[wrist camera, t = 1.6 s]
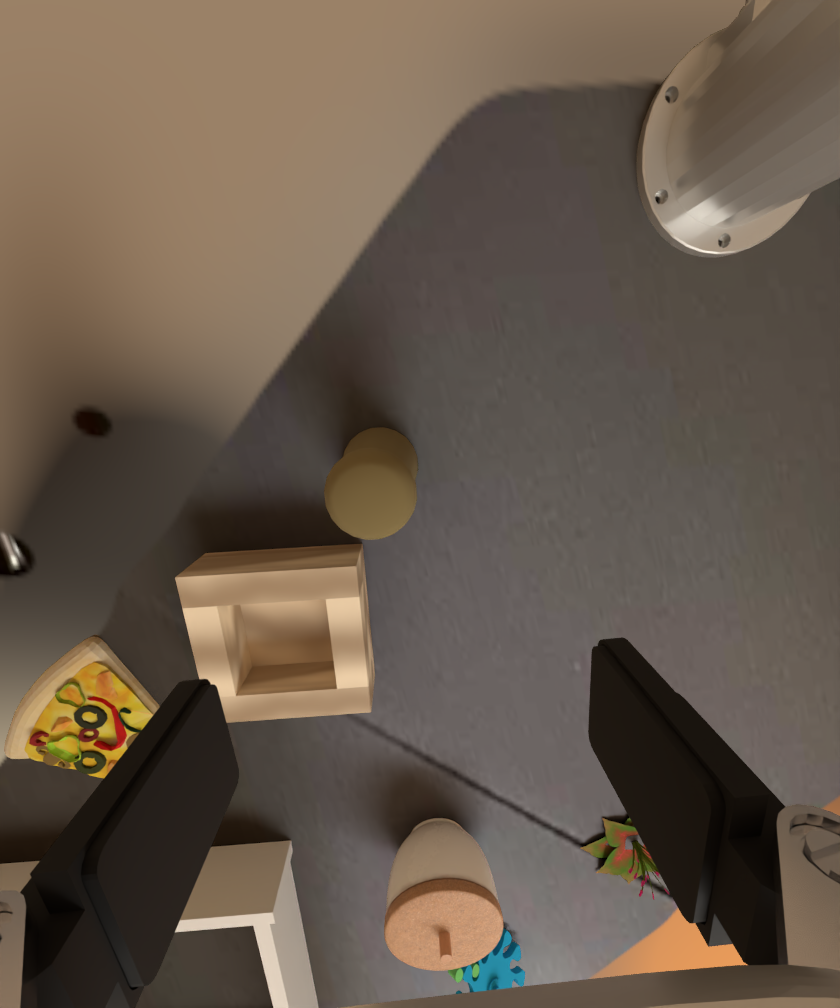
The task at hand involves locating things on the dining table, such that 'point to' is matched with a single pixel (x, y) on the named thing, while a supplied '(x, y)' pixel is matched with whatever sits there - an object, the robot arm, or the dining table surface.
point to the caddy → (282, 630)
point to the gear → (493, 968)
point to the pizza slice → (81, 712)
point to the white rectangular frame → (241, 910)
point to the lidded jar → (441, 899)
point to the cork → (373, 484)
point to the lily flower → (622, 853)
